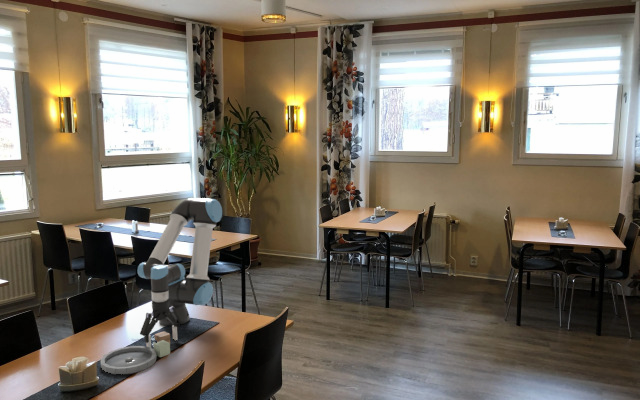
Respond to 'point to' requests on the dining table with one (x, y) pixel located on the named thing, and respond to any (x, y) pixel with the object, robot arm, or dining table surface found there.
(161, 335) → the brown wooden cube
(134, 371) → the tray
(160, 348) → the pale green cube
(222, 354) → the dining table surface
